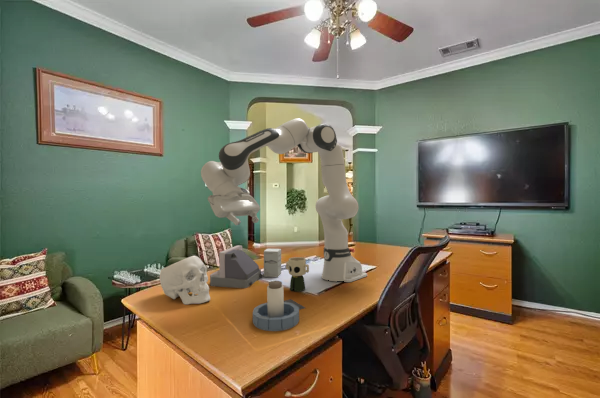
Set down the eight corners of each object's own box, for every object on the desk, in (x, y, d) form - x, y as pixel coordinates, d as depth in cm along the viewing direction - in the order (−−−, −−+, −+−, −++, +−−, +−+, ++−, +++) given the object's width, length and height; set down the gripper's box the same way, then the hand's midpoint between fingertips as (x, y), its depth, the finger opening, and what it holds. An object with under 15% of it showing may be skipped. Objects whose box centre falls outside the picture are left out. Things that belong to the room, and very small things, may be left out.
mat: (290, 300, 105) (290, 299, 105) (305, 308, 97) (305, 307, 97) (266, 306, 100) (266, 304, 100) (280, 315, 92) (280, 314, 92)
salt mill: (278, 314, 91) (277, 279, 91) (287, 319, 87) (286, 283, 87) (264, 318, 88) (264, 282, 88) (272, 324, 84) (272, 286, 84)
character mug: (281, 290, 116) (281, 259, 116) (291, 285, 122) (290, 255, 122) (304, 295, 111) (304, 262, 111) (313, 289, 117) (312, 258, 117)
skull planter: (197, 305, 96) (178, 253, 100) (163, 322, 105) (147, 273, 109) (225, 293, 108) (208, 247, 112) (193, 309, 117) (178, 266, 121)
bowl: (284, 309, 97) (284, 298, 97) (307, 324, 85) (307, 312, 85) (246, 318, 90) (246, 307, 90) (265, 337, 78) (265, 324, 78)
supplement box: (263, 277, 136) (263, 250, 136) (267, 273, 144) (267, 248, 144) (278, 277, 135) (277, 251, 135) (281, 273, 142) (281, 248, 142)
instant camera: (232, 273, 144) (231, 244, 144) (268, 277, 137) (267, 246, 137) (203, 285, 125) (203, 251, 125) (244, 290, 117) (243, 254, 117)
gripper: (209, 189, 96) (230, 218, 91) (250, 190, 113) (270, 215, 108) (201, 202, 99) (221, 231, 93) (242, 201, 116) (261, 226, 111)
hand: (247, 222), depth 101 cm, fingers open, 8 cm apart
